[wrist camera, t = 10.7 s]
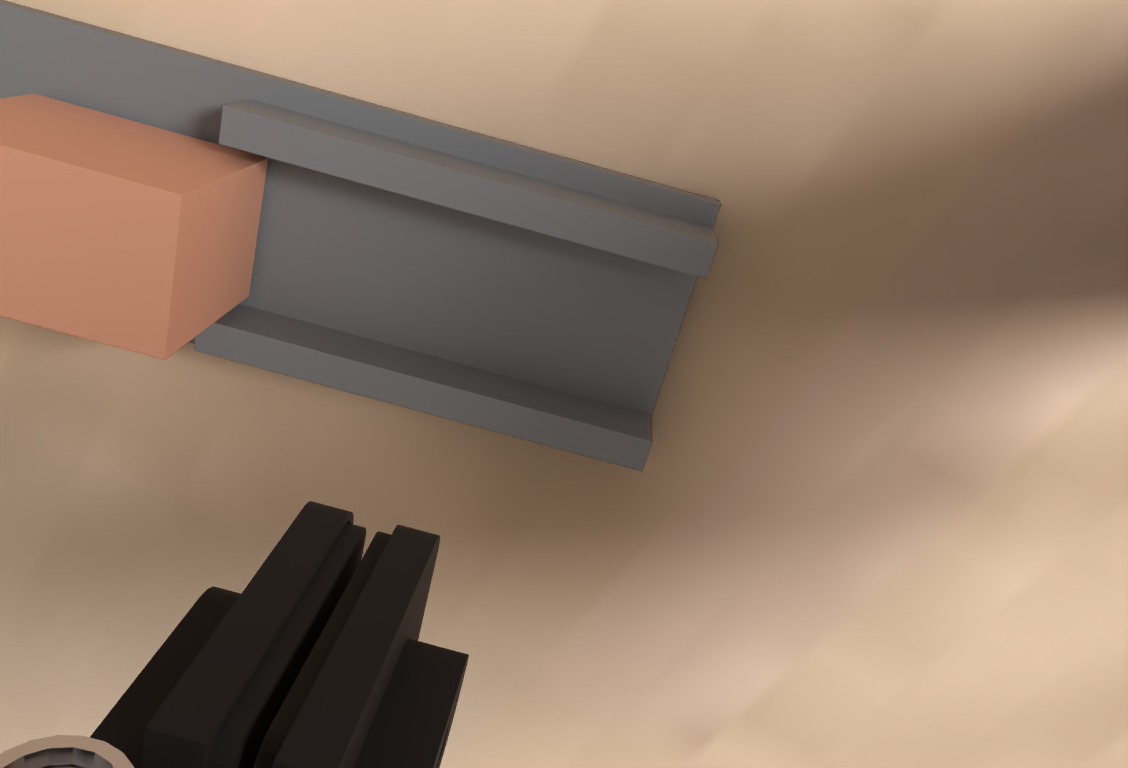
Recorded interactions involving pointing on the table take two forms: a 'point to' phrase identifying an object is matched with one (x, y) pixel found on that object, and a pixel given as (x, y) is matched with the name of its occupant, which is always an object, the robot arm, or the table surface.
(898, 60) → the table surface
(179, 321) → the block
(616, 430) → the chute
